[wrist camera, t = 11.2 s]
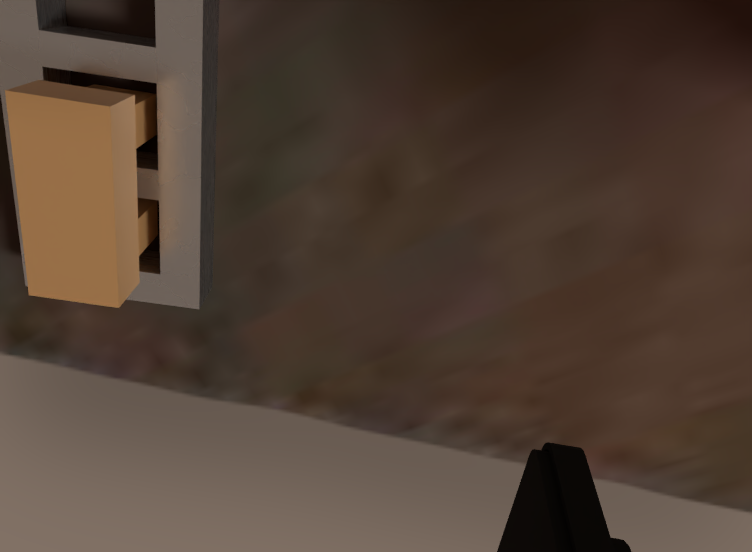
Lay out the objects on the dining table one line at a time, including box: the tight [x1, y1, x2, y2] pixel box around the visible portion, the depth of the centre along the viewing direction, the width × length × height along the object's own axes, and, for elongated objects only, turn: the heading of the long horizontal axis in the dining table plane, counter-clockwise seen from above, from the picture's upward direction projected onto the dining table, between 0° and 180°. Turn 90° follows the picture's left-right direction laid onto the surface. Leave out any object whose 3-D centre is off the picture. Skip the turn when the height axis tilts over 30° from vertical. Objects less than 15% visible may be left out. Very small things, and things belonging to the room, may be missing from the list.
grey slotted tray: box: [0, 0, 219, 309], centre depth 28 cm, size 9×24×2 cm, turn 172°
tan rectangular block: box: [5, 80, 158, 308], centre depth 29 cm, size 4×9×6 cm, turn 171°
